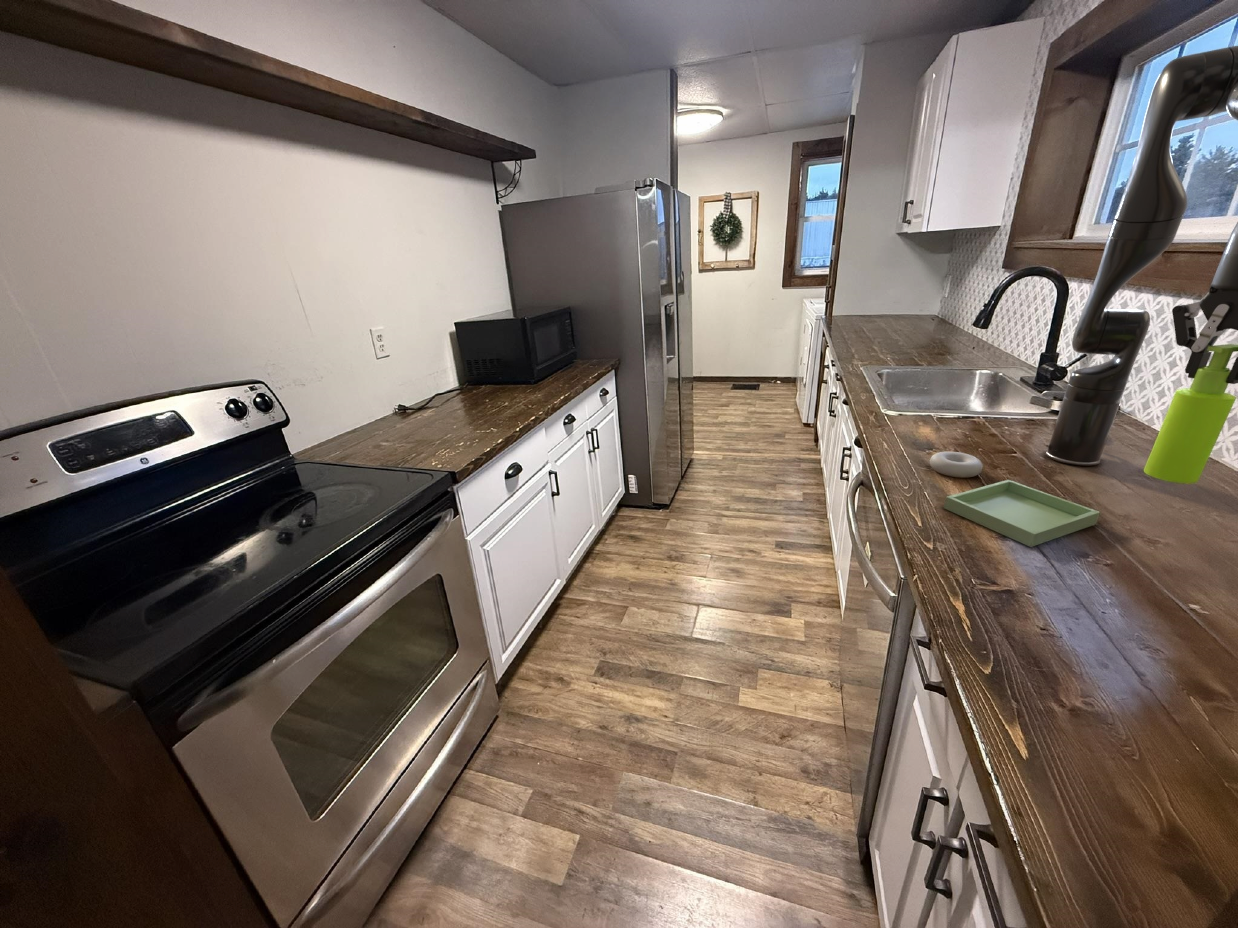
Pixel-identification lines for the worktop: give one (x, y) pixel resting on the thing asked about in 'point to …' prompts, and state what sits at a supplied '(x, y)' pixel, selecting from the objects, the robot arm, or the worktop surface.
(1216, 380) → the soap dispenser
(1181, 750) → the worktop surface
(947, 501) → the tray
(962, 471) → the donut
